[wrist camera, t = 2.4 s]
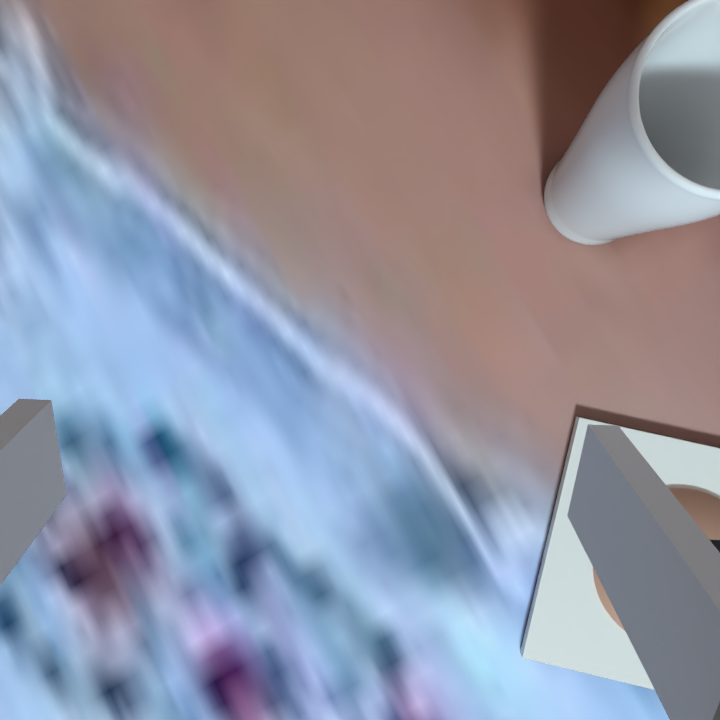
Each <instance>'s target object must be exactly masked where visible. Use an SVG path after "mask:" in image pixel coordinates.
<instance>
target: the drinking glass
mask: <svg viewBox="0 0 720 720" xmlns="http://www.w3.org/2000/svg"><path fill="white" fill-rule="evenodd" d="M544 204H545V209H546V213H547V215H548V218H549V220H550V221H551V223H552V225H553V226H554V227H555V228H556V229H557V231H558V232H560V233H561V234H562V235H563V236H565V237H566V238H568V239H570V240H572V241H574V242H577V243H581V244H587V245H599V244H605V243H608V242H611V241H614V240H616V239H619V238H623V237H627V236H632V235H637V234H642V233H647V232H652V231H657V230H662V229H667V228H672V227H678V226H682V225H687V224H691V223H695V222H699V221H703V220H706V219H710V218H713V217H716V216H719V215H720V0H689V1H687V2H685V3H683V4H682V5H680V6H679V7H677V8H676V9H675V10H673V11H672V12H671V13H669V14H668V15H667V16H666V17H665V18H664V19H663V20H662V21H661V22H660V23H659V24H658V25H657V26H656V27H655V28H654V29H653V30H652V31H651V32H650V33H649V34H648V35H647V36H646V37H645V38H644V39H643V40H642V41H641V43H640V44H639V45H638V46H637V47H636V48H635V49H634V50H633V51H632V52H631V54H630V55H629V56H628V57H627V58H626V59H625V61H624V62H623V63H622V64H621V65H620V66H619V68H618V69H617V70H616V72H615V73H614V74H613V76H612V77H611V78H610V80H609V81H608V83H607V84H606V85H605V87H604V88H603V90H602V91H601V93H600V94H599V96H598V97H597V99H596V101H595V102H594V104H593V106H592V108H591V109H590V111H589V113H588V114H587V116H586V118H585V120H584V121H583V123H582V125H581V127H580V128H579V130H578V132H577V134H576V135H575V137H574V139H573V140H572V142H571V144H570V145H569V147H568V149H567V150H566V152H565V154H564V155H563V157H562V158H561V159H560V160H559V162H558V163H557V164H556V165H555V167H554V168H553V169H552V171H551V173H550V175H549V177H548V179H547V182H546V186H545V191H544Z"/></svg>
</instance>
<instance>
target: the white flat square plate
mask: <svg viewBox="0 0 720 720" xmlns="http://www.w3.org/2000/svg"><path fill="white" fill-rule="evenodd" d="M588 424H592V425H613V424H609V423H604V422H600V421H595V420H591V419H586V418H582V417H577V416H576V419H575V423H574V428H573V432H572V436H571V440H570V445H569V449H568V453H567V457H566V461H565V466H564V470H563V474H562V478H561V482H560V487H559V491H558V495H557V499H556V504H555V508H554V512H553V516H552V520H551V525H550V529H549V533H548V537H547V542H546V546H545V550H544V554H543V558H542V563H541V567H540V571H539V575H538V579H537V584H536V588H535V592H534V596H533V601H532V605H531V609H530V613H529V617H528V622H527V626H526V630H525V634H524V639H523V643H522V647H521V651H520V653H521V656H522V658H525V659H530V660H534V661H538V662H542V663H546V664H550V665H554V666H558V667H563V668H567V669H571V670H575V671H579V672H583V673H587V674H591V675H596V676H600V677H604V678H608V679H612V680H616V681H620V682H624V683H629V684H633V685H637V686H641V687H645V688H649V689H653V690H655V689H654V687H653V685H652V683H651V681H650V679H649V677H648V675H647V673H646V671H645V669H644V667H643V665H642V663H641V661H640V659H639V657H638V655H637V653H636V651H635V649H634V647H633V645H632V643H631V641H630V639H629V637H628V635H627V633H626V631H625V629H624V628H623V626H622V624H621V622H620V620H619V618H618V616H617V614H616V612H615V610H614V608H613V606H612V604H611V602H610V600H609V598H608V596H607V594H606V592H605V590H604V588H603V586H602V584H601V582H600V580H599V578H598V576H597V574H596V572H595V570H594V568H593V566H592V564H591V562H590V560H589V558H588V556H587V554H586V552H585V550H584V548H583V546H582V544H581V542H580V540H579V538H578V536H577V534H576V532H575V530H574V528H573V526H572V524H571V522H570V520H569V518H568V516H567V514H568V510H569V506H570V501H571V497H572V492H573V488H574V483H575V479H576V475H577V470H578V466H579V461H580V457H581V452H582V448H583V444H584V439H585V435H586V430H587V426H588ZM614 426H618V425H614ZM619 427H620V428H621V430H622V431H623V432H624V433H625V435H626V436H627V437H628V438H629V440H630V441H631V442H632V443H633V445H634V446H635V447H636V448H637V450H638V451H639V452H640V453H641V455H642V456H643V457H644V458H645V460H646V461H647V462H648V463H649V465H650V466H651V467H652V468H653V470H654V471H655V472H656V473H657V475H658V476H659V477H660V478H661V480H662V481H663V482H664V483H665V485H666V486H667V487H668V488H669V490H670V491H671V492H672V493H673V495H674V496H675V497H676V498H677V500H678V501H679V502H680V503H681V505H682V506H683V507H684V508H685V510H686V511H687V512H688V513H689V515H690V516H691V517H692V519H693V520H694V521H695V522H696V524H697V525H698V526H699V527H700V529H701V530H702V531H703V532H704V534H705V535H706V536H707V537H708V539H709V540H720V448H718V447H713V446H709V445H704V444H700V443H695V442H691V441H686V440H682V439H677V438H673V437H668V436H663V435H659V434H654V433H650V432H645V431H641V430H636V429H632V428H627V427H623V426H619Z"/></svg>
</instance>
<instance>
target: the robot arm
mask: <svg viewBox="0 0 720 720" xmlns="http://www.w3.org/2000/svg"><path fill="white" fill-rule="evenodd" d="M65 497H66V488H65V482H64V476H63V470H62V464H61V458H60V451H59V445H58V439H57V433H56V427H55V420H54V414H53V408H52V402H51V400H33V399H19V400H17V401H16V402H15V403H14V404H13V405H12V406H11V407H10V408H8V409H7V410H6V411H5V412H4V413H3V414H2V415H1V416H0V585H1V584H2V583H3V581H4V580H5V579H6V577H7V576H8V574H9V573H10V572H11V570H12V569H13V568H14V566H15V565H16V564H17V562H18V561H19V559H20V558H21V557H22V555H23V554H24V553H25V551H26V550H27V549H28V547H29V546H30V544H31V543H32V542H33V540H34V539H35V538H36V536H37V535H38V534H39V532H40V531H41V529H42V528H43V527H44V525H45V524H46V523H47V521H48V520H49V518H50V517H51V516H52V514H53V513H54V512H55V510H56V509H57V508H58V506H59V505H60V503H61V502H62V501H63V499H64V498H65ZM567 516H568V518H569V520H570V522H571V524H572V526H573V528H574V530H575V532H576V534H577V536H578V538H579V540H580V542H581V544H582V546H583V548H584V550H585V552H586V554H587V556H588V558H589V560H590V562H591V564H592V566H593V568H594V570H595V572H596V574H597V576H598V578H599V580H600V582H601V584H602V586H603V588H604V590H605V592H606V594H607V596H608V598H609V600H610V602H611V604H612V606H613V608H614V610H615V612H616V614H617V616H618V618H619V620H620V622H621V624H622V626H623V628H624V629H625V631H626V633H627V635H628V637H629V639H630V641H631V643H632V645H633V647H634V649H635V651H636V653H637V655H638V657H639V659H640V661H641V663H642V665H643V667H644V669H645V671H646V673H647V675H648V677H649V679H650V681H651V683H652V685H653V687H654V689H655V691H656V693H657V695H658V697H659V699H660V701H661V703H662V705H663V707H664V709H665V711H666V713H667V715H668V717H669V719H670V720H720V540H709V539H708V537H707V536H706V535H705V534H704V532H703V531H702V530H701V529H700V527H699V526H698V525H697V524H696V522H695V521H694V520H693V519H692V517H691V516H690V515H689V513H688V512H687V511H686V510H685V508H684V507H683V506H682V505H681V503H680V502H679V501H678V500H677V498H676V497H675V496H674V495H673V493H672V492H671V491H670V490H669V488H668V487H667V486H666V485H665V483H664V482H663V481H662V480H661V478H660V477H659V476H658V475H657V473H656V472H655V471H654V470H653V468H652V467H651V466H650V465H649V463H648V462H647V461H646V460H645V458H644V457H643V456H642V455H641V453H640V452H639V451H638V450H637V448H636V447H635V446H634V445H633V443H632V442H631V441H630V440H629V438H628V437H627V436H626V435H625V433H624V432H623V431H622V430H621V428H620V427H619V426H614V425H592V424H588V426H587V430H586V435H585V439H584V444H583V448H582V452H581V457H580V461H579V466H578V470H577V475H576V479H575V483H574V488H573V492H572V497H571V501H570V506H569V510H568V514H567Z"/></svg>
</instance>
